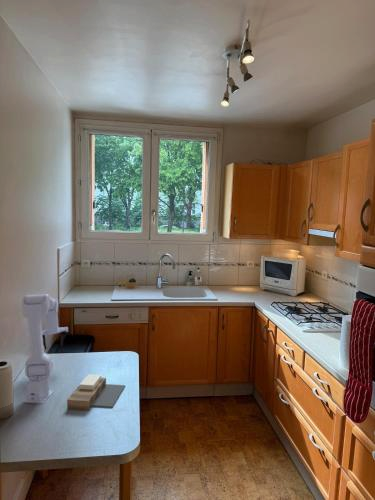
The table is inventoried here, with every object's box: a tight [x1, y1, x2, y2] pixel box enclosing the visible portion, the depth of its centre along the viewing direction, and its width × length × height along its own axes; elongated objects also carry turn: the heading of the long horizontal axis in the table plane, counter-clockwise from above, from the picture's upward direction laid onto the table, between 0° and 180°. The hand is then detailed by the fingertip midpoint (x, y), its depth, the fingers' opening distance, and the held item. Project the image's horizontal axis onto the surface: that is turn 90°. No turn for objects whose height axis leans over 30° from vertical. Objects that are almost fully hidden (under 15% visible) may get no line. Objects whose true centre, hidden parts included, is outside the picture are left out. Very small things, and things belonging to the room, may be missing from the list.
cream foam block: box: [79, 373, 102, 390], centre depth 147 cm, size 9×6×2 cm, turn 173°
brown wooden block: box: [66, 377, 107, 412], centre depth 144 cm, size 19×9×4 cm, turn 173°
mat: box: [92, 383, 126, 409], centre depth 145 cm, size 17×8×1 cm, turn 173°
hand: (53, 346), depth 172 cm, fingers open, 7 cm apart
